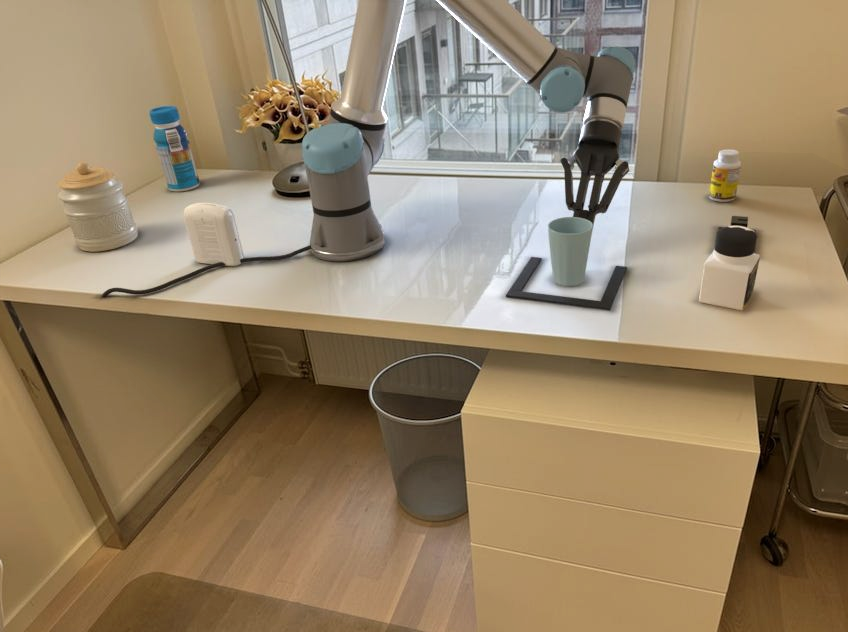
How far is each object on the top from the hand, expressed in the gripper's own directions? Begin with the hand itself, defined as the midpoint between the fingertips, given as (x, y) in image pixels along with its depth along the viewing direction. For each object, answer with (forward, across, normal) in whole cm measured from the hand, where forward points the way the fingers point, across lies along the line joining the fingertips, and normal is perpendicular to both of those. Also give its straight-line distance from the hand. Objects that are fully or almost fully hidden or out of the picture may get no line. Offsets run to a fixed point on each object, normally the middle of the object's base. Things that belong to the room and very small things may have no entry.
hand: (578, 245), depth 129 cm
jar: (+13, +102, +7) cm, 104 cm away
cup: (+8, 0, +2) cm, 8 cm away
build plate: (-9, -27, -15) cm, 32 cm away
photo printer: (+15, +70, +9) cm, 72 cm away
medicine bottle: (+7, -27, +2) cm, 28 cm away
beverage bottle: (-11, +110, -17) cm, 112 cm away
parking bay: (+8, 0, +2) cm, 8 cm away
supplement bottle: (-25, -22, -31) cm, 46 cm away
